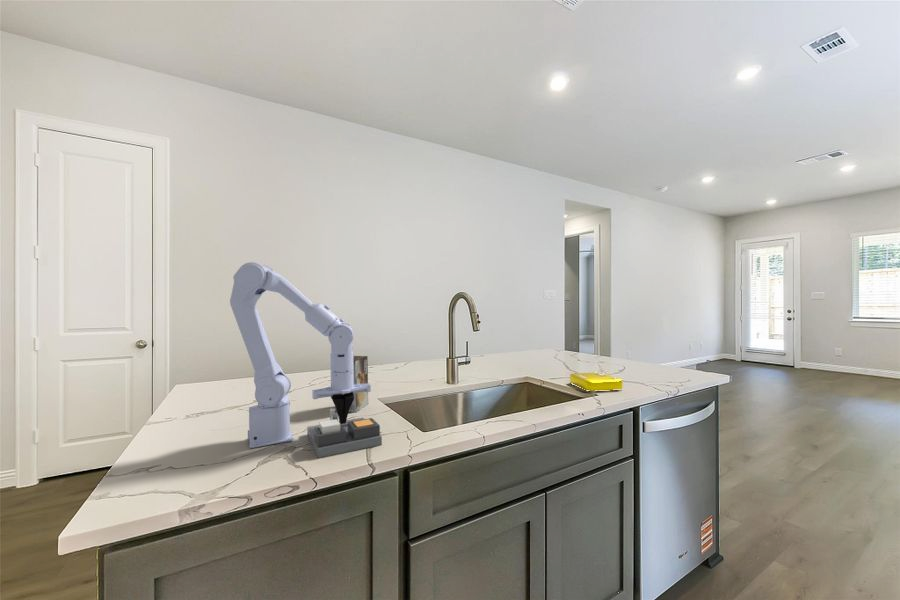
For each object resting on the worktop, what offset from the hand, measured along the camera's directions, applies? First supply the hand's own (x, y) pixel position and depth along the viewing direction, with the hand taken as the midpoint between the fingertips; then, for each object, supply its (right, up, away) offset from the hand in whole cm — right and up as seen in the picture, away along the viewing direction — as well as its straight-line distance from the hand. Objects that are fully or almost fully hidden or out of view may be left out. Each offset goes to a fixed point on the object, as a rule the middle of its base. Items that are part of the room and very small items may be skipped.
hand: (342, 422), depth 97 cm
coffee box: (-3, -3, +22) cm, 23 cm away
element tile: (+84, -3, +48) cm, 97 cm away
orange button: (+7, 0, -5) cm, 9 cm away
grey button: (0, +1, -9) cm, 9 cm away
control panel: (+1, -3, -4) cm, 5 cm away
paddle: (-2, 0, -1) cm, 2 cm away
